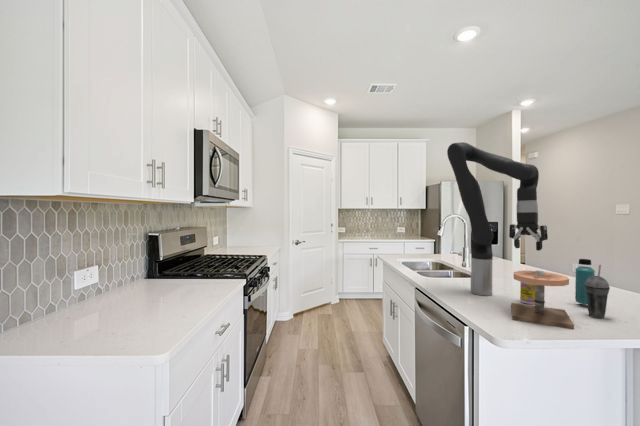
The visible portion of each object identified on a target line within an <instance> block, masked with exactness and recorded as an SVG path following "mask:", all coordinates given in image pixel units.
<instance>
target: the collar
mask: <svg viewBox="0 0 640 426" xmlns="http://www.w3.org/2000/svg"><path fill="white" fill-rule="evenodd" d="M535 271H536V270H517V271H513V280H515V281H518V282H520V283H521V282H524V283H529V284H534V285H543V286H545V287H565V286H568V285H570V278H569V277H568V276H567V275H566V276H565V275H562V274H559V273H553V272H548V271H544V272H545V276H535Z"/></svg>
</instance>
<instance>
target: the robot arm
mask: <svg viewBox="0 0 640 426" xmlns="http://www.w3.org/2000/svg"><path fill="white" fill-rule="evenodd" d="M446 155H447V159H448V161H449V163H450V166H451V168H452V171H453V174H454V177H455V180H456V184H457V188H458V191H459V192H458V193H459V195H460V199H461V203H462V205H463V206H464V209H465V212H466V213H467V216H468V218H469V222H470V228H471V232H470V252H471V253H470V254H471V255H470V256H471V258H470V259H471V260H470V261H471V264H470V267H471V269H470V270H471V271H470V272H471V273H470V294H474V295H478V296H492V295H493V257H494V256H493V248H492V247H493V243H492V241H493V239H494V231H493V230H492V227H491V225H490V223H489V220H488V218H487V214H486V208H485V203H484V199H483V198H484V197H483V193H482V190H481V188H480V184H479V182H478V180H477V179H476V178H475V176H474V175H473V174H472V172H471V171H470V169H469V167H468V163H467V162H473V163H477V164H479V165H481V166H483V167H484V168H486V169H488V170H490V171H493V172H496V173H498V174H501V175H505V176H508V177H510V178H513V179H515V180H517V181H519V187H518V188H517V190H516V222H517V224H515V223H512V224H509V230H508V231H509V232H508V233H509V235H508V237H509V239H513V245H514V248H515V249H520V247H521V244H520V243H521V240H520V238H521V237H522V236H532V237H533V238H534V239H535V249H536V251H542V249H543V241H547V240H548V237H549V236H548V227H547V225H545V224H543V225H539V224H538V223H539V209H538V208H539V207H538V196H537V193H538V192H537V191H538V190H537V189H538V188H537V187H538V183H539V177H540V176H539V170H538V169H539V168H538V167H537V166H535V165H534V164H528V163H524V162H519V161H516V160H513V159H512V158H508V157H506V156H505V157H504V156H502V155H499V154H494V153H491V152H487V151H485V150H482V149H480V148H477V147H476V146H474V145H471V144H470V143H467V142H453V143H451V144H450V145H448V148H447V154H446ZM516 230H517V231H516ZM538 230H539V231H540V233H539V232H538Z"/></svg>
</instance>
